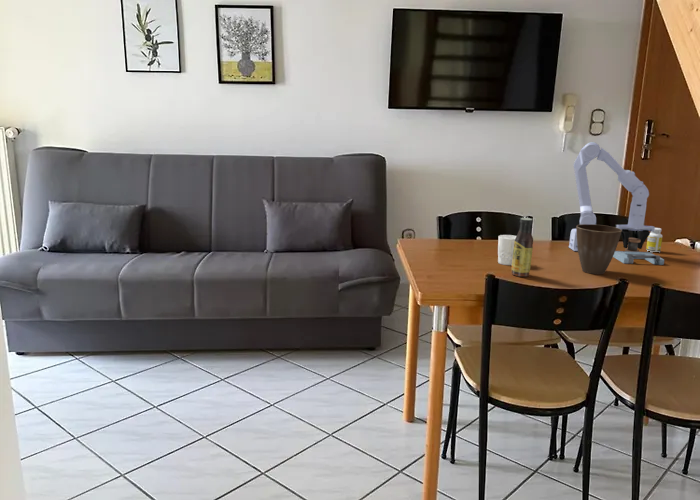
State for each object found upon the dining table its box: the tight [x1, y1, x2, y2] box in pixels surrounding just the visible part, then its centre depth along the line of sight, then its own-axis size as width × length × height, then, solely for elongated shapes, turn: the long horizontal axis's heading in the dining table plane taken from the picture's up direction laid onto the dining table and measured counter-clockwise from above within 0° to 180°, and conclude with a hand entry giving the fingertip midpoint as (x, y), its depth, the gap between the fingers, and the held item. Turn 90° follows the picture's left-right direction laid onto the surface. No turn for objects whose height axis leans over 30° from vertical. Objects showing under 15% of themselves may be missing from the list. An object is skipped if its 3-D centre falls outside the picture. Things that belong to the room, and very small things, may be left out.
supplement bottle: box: [646, 227, 663, 253], centre depth 254 cm, size 5×5×10 cm
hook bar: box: [627, 254, 661, 266], centre depth 232 cm, size 12×2×3 cm, turn 88°
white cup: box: [497, 234, 517, 266], centre depth 226 cm, size 8×8×10 cm
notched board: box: [612, 250, 665, 266], centre depth 238 cm, size 15×13×2 cm
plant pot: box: [575, 224, 622, 275], centre depth 216 cm, size 15×15×16 cm
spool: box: [624, 237, 641, 252], centre depth 247 cm, size 5×5×5 cm
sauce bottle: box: [511, 217, 534, 278], centre depth 208 cm, size 6×6×20 cm
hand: (632, 248), depth 247 cm, fingers closed on spool, 5 cm apart
